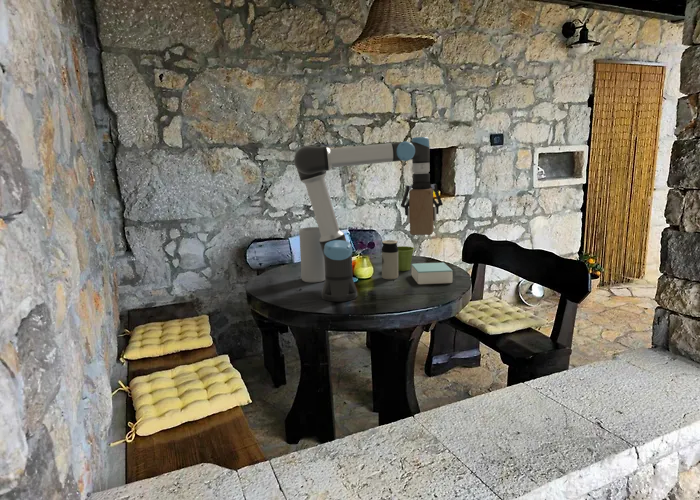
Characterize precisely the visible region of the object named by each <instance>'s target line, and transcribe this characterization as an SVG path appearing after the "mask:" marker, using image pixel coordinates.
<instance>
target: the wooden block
mask: <svg viewBox="0 0 700 500" xmlns="http://www.w3.org/2000/svg"><path fill="white" fill-rule="evenodd" d="M433 198H434V189H432V187H431V188H430V189H412V188H411V190H409V193H408V200H409V207H408V208H409V211H410V223H409V234H410V235H412V236H417V235H418V236H428V235H429V236H430V235H433V232H434V230H435V229H434V225H435V224H434V223H435V222H434V220H433V207H434V204H433Z"/></svg>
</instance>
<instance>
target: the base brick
mask: <svg viewBox="0 0 700 500" xmlns="http://www.w3.org/2000/svg"><path fill="white" fill-rule="evenodd" d="M453 272H454V271H453V269H452V268H451V267H449V266H448V264H446V263H445V262H427V263H426V262H425V263H423V262H422V263H411V277H412V278H413V279H414V281H415V282H416V283H417V285H434V284H452V283H453Z"/></svg>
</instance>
